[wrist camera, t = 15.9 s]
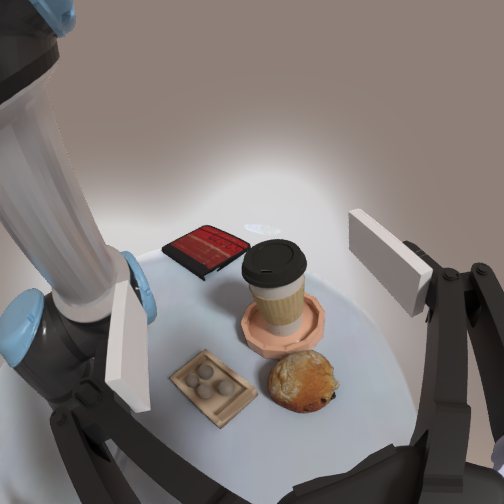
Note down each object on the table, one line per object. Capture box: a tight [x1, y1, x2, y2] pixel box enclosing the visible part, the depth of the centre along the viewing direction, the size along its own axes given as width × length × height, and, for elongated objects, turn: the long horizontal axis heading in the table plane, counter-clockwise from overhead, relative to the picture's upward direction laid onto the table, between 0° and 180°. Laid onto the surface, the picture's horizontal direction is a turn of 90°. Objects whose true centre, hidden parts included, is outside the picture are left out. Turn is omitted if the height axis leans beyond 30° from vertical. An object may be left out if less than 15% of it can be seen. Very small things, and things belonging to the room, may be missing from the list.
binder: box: [162, 225, 251, 281], centre depth 80 cm, size 16×2×21 cm
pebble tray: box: [170, 349, 258, 429], centre depth 44 cm, size 12×8×3 cm, turn 45°
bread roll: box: [268, 350, 339, 413], centre depth 42 cm, size 10×10×8 cm
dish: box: [241, 292, 325, 360], centre depth 53 cm, size 14×14×2 cm
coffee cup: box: [242, 239, 307, 337], centre depth 49 cm, size 10×10×15 cm
